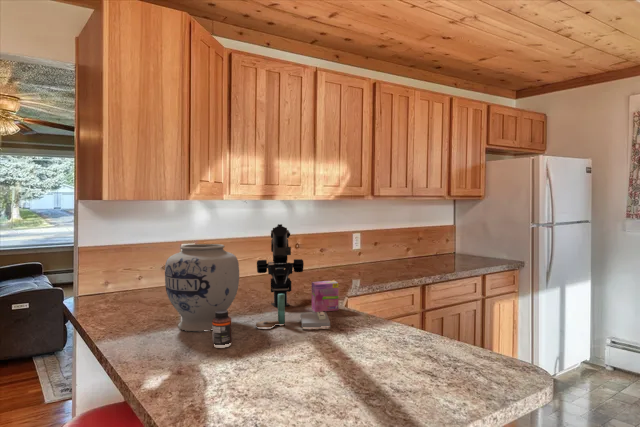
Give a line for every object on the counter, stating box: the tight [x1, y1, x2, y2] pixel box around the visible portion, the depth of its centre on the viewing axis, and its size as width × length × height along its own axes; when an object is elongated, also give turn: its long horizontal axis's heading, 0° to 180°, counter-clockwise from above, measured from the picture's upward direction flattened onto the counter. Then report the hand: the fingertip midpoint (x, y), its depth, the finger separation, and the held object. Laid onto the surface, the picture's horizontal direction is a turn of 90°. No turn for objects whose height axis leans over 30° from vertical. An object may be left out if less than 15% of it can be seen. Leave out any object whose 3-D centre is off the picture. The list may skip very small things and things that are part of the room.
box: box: [311, 280, 340, 312], centre depth 182 cm, size 10×6×12 cm, turn 105°
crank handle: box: [255, 294, 286, 327], centre depth 158 cm, size 7×11×12 cm, turn 96°
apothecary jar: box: [164, 243, 240, 332], centre depth 161 cm, size 27×27×30 cm
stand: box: [299, 311, 331, 328], centre depth 161 cm, size 14×10×5 cm
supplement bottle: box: [212, 309, 233, 345], centre depth 138 cm, size 6×6×11 cm
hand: (280, 283), depth 170 cm, fingers open, 3 cm apart
